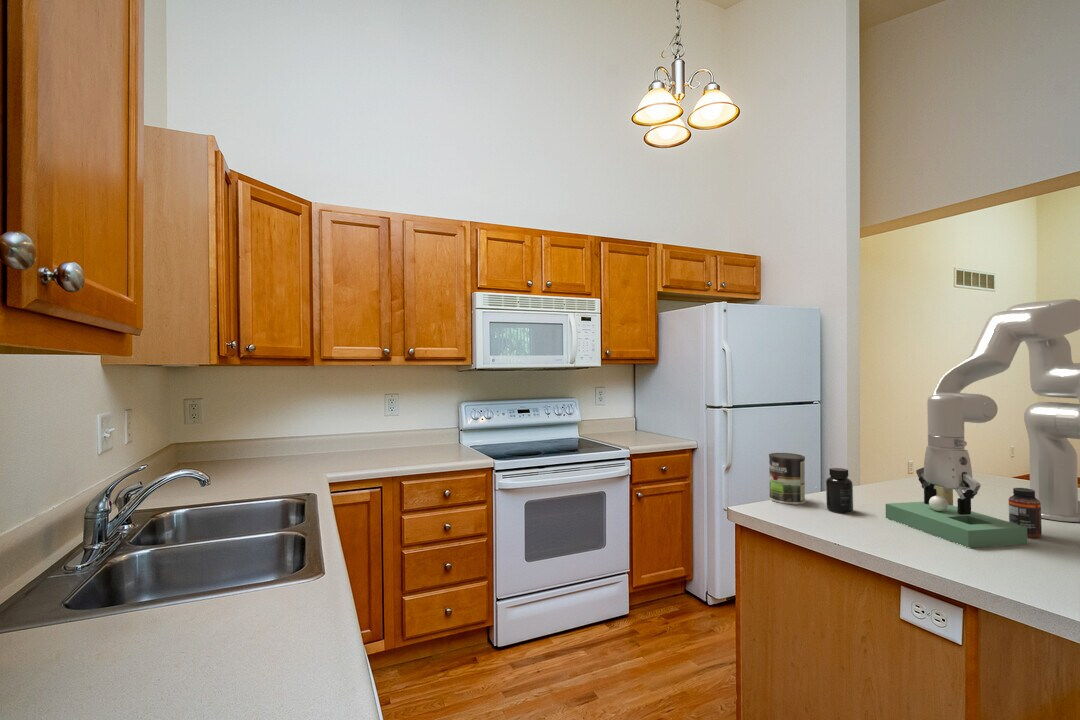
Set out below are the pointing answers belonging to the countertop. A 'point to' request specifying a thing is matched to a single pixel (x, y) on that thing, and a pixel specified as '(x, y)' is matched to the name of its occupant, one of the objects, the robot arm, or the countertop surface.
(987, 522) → the putting board
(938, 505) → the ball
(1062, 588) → the countertop surface
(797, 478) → the coffee can
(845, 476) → the supplement bottle
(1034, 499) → the supplement bottle
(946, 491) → the lighter
